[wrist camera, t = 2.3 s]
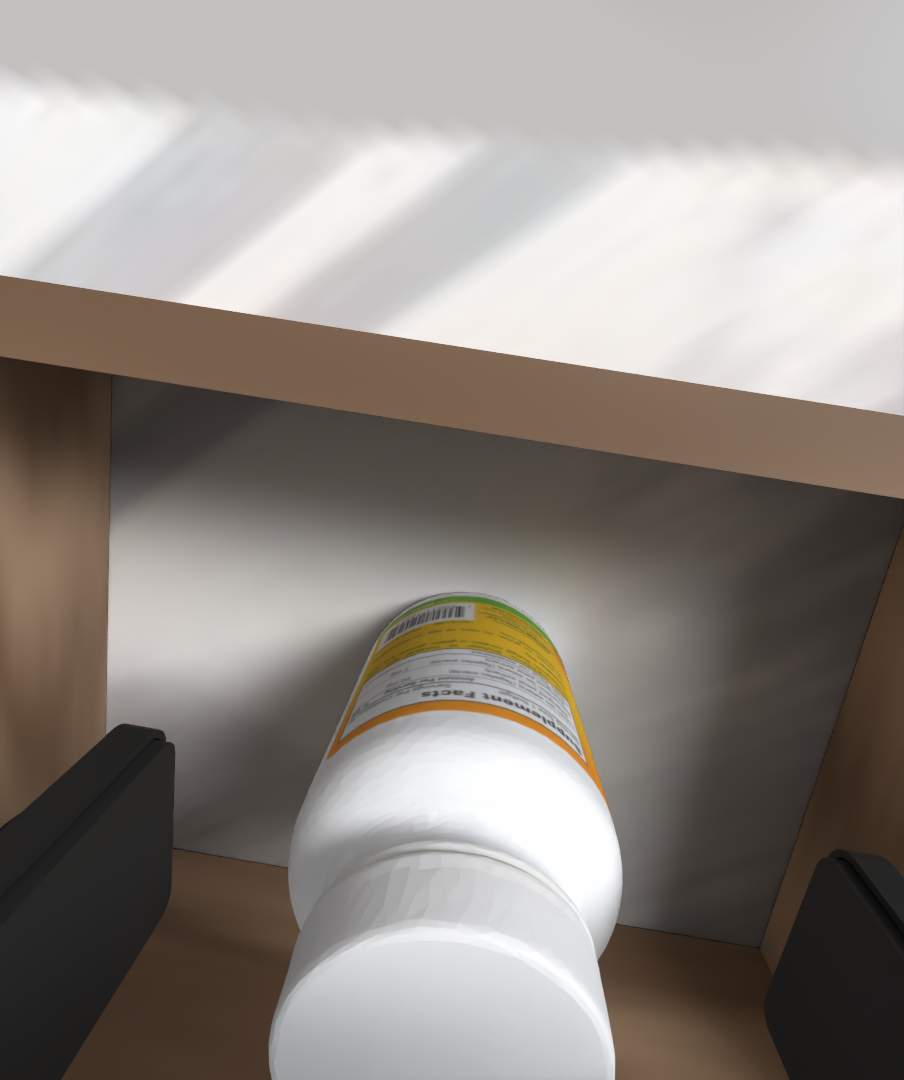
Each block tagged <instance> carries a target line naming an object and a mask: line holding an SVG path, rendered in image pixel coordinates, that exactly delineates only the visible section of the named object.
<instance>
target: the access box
mask: <svg viewBox="0 0 904 1080" xmlns="http://www.w3.org/2000/svg"><path fill="white" fill-rule="evenodd" d="M112 374H116V375H122V376H128V377H135V378H141V379H147V380H154V381H160V382H166V383H173V384H179V385H185V386H192V387H198V388H204V389H211V390H217V391H223V392H230V393H236V394H242V395H249V396H255V397H261V398H268V399H274V400H280V401H287V402H293V403H299V404H306V405H312V406H318V407H325V408H331V409H337V410H344V411H350V412H356V413H363V414H369V415H375V416H382V417H388V418H394V419H401V420H407V421H413V422H420V423H426V424H432V425H439V426H445V427H451V428H458V429H464V430H470V431H477V432H483V433H489V434H496V435H502V436H508V437H515V438H521V439H528V440H534V441H540V442H547V443H553V444H559V445H566V446H572V447H578V448H585V449H591V450H597V451H604V452H610V453H616V454H623V455H629V456H635V457H642V458H648V459H654V460H661V461H667V462H673V463H680V464H686V465H692V466H699V467H705V468H711V469H718V470H724V471H730V472H737V473H743V474H749V475H756V476H762V477H768V478H775V479H781V480H787V481H794V482H800V483H806V484H813V485H819V486H825V487H832V488H838V489H844V490H851V491H857V492H863V493H870V494H876V495H882V496H889V497H895V498H901V499H904V416H901V415H894V414H888V413H882V412H875V411H869V410H862V409H856V408H849V407H843V406H837V405H830V404H824V403H817V402H811V401H804V400H798V399H792V398H785V397H779V396H772V395H766V394H759V393H753V392H747V391H740V390H734V389H727V388H721V387H714V386H708V385H702V384H695V383H689V382H682V381H676V380H669V379H663V378H657V377H650V376H644V375H637V374H631V373H624V372H618V371H612V370H605V369H599V368H592V367H586V366H579V365H573V364H567V363H560V362H554V361H547V360H541V359H534V358H528V357H522V356H515V355H509V354H502V353H496V352H489V351H483V350H477V349H470V348H464V347H457V346H451V345H444V344H438V343H432V342H425V341H419V340H412V339H406V338H399V337H393V336H387V335H380V334H374V333H367V332H361V331H354V330H348V329H342V328H335V327H329V326H322V325H316V324H309V323H303V322H297V321H290V320H284V319H277V318H271V317H265V316H258V315H252V314H245V313H239V312H232V311H226V310H220V309H213V308H207V307H200V306H194V305H187V304H181V303H175V302H168V301H162V300H155V299H149V298H142V297H136V296H130V295H123V294H117V293H110V292H104V291H97V290H91V289H85V288H78V287H72V286H65V285H59V284H52V283H46V282H40V281H33V280H27V279H20V278H14V277H7V276H1V275H0V828H1V827H2V826H3V825H4V824H6V823H7V822H8V821H10V820H11V819H12V818H14V817H15V816H16V815H18V814H20V813H21V812H22V811H23V810H24V809H26V808H27V807H28V806H29V805H30V804H31V803H32V802H33V801H34V800H36V799H37V798H38V797H39V796H40V795H41V794H42V793H43V792H44V791H45V790H47V789H48V788H49V787H50V786H51V785H52V784H53V783H54V782H55V781H56V780H58V779H59V778H60V777H61V776H62V775H63V774H64V773H65V772H66V771H67V770H69V769H70V768H71V767H72V766H73V765H74V764H75V763H76V762H77V761H78V760H80V759H81V758H82V757H83V756H84V755H85V754H86V753H87V752H88V751H90V750H91V749H92V748H93V747H94V746H95V745H96V744H97V743H98V742H99V741H101V740H102V739H103V738H104V737H105V736H106V688H107V628H108V569H109V509H110V450H111V391H112ZM835 849H845V850H851V851H856V852H862V853H868V854H874V855H879V856H882V857H884V858H886V859H887V860H888V861H889V862H890V863H892V864H893V865H894V867H895V868H896V869H897V870H898V871H899V873H900V874H901V875H902V876H903V877H904V525H903V528H902V531H901V534H900V537H899V540H898V543H897V546H896V549H895V552H894V555H893V558H892V560H891V563H890V566H889V569H888V572H887V575H886V578H885V581H884V584H883V587H882V590H881V593H880V596H879V599H878V602H877V605H876V608H875V611H874V613H873V616H872V619H871V622H870V625H869V628H868V631H867V634H866V637H865V640H864V643H863V646H862V649H861V652H860V655H859V658H858V661H857V664H856V666H855V669H854V672H853V675H852V678H851V681H850V684H849V687H848V690H847V693H846V696H845V699H844V702H843V705H842V708H841V711H840V714H839V717H838V719H837V722H836V725H835V728H834V731H833V734H832V737H831V740H830V743H829V746H828V749H827V752H826V755H825V758H824V761H823V764H822V767H821V770H820V772H819V775H818V778H817V781H816V784H815V787H814V790H813V793H812V796H811V799H810V802H809V805H808V808H807V811H806V814H805V817H804V820H803V823H802V825H801V828H800V831H799V834H798V837H797V840H796V843H795V846H794V849H793V852H792V855H791V858H790V861H789V864H788V867H787V870H786V873H785V876H784V878H783V881H782V884H781V887H780V890H779V893H778V896H777V899H776V902H775V905H774V908H773V911H772V914H771V917H770V920H769V923H768V926H767V929H766V931H765V934H764V937H763V940H762V943H761V946H760V949H758V948H752V947H746V946H740V945H734V944H729V943H723V942H717V941H711V940H705V939H699V938H693V937H688V936H682V935H676V934H670V933H664V932H658V931H652V930H647V929H641V928H635V927H629V926H623V925H617V924H615V927H614V930H613V933H612V935H611V937H610V940H609V942H608V944H607V946H606V948H605V950H604V951H603V953H602V955H601V956H600V958H599V959H598V961H597V962H598V966H599V970H600V977H601V982H602V987H603V992H604V997H605V1001H606V1006H607V1012H608V1017H609V1022H610V1027H611V1033H612V1039H613V1045H614V1051H615V1080H789V1077H788V1075H787V1073H786V1070H785V1068H784V1066H783V1063H782V1061H781V1059H780V1056H779V1054H778V1052H777V1049H776V1047H775V1044H774V1042H773V1040H772V1037H771V1035H770V1033H769V1030H768V1027H767V1024H766V1019H765V1013H764V1000H765V996H766V993H767V991H768V988H769V986H770V983H771V980H772V978H773V975H774V973H775V970H776V968H777V965H778V962H779V960H780V957H781V955H782V952H783V950H784V947H785V944H786V942H787V939H788V937H789V934H790V932H791V929H792V926H793V924H794V921H795V919H796V916H797V914H798V911H799V909H800V906H801V903H802V901H803V898H804V896H805V893H806V891H807V888H808V885H809V883H810V880H811V878H812V875H813V873H814V870H815V867H816V865H817V863H818V862H819V860H820V859H822V858H828V856H829V854H830V853H831V852H832V851H834V850H835ZM299 933H300V928H299V926H298V924H297V921H296V917H295V914H294V911H293V907H292V904H291V898H290V891H289V882H288V868H283V867H277V866H272V865H266V864H260V863H254V862H248V861H242V860H236V859H231V858H225V857H219V856H213V855H207V854H201V853H195V852H189V851H184V850H178V849H172V885H171V894H170V898H169V901H168V904H167V907H166V909H165V912H164V914H163V916H162V918H161V919H160V921H159V923H158V924H157V926H156V928H155V929H154V931H153V932H152V934H151V936H150V937H149V939H148V940H147V942H146V944H145V945H144V947H143V949H142V950H141V952H140V953H139V955H138V957H137V958H136V960H135V961H134V963H133V965H132V966H131V968H130V969H129V971H128V973H127V974H126V976H125V977H124V979H123V981H122V982H121V984H120V986H119V987H118V989H117V990H116V992H115V994H114V995H113V997H112V998H111V1000H110V1002H109V1003H108V1005H107V1006H106V1008H105V1010H104V1011H103V1013H102V1014H101V1016H100V1018H99V1019H98V1021H97V1023H96V1024H95V1026H94V1027H93V1029H92V1031H91V1032H90V1034H89V1035H88V1037H87V1039H86V1040H85V1042H84V1043H83V1045H82V1047H81V1048H80V1050H79V1051H78V1053H77V1055H76V1056H75V1058H74V1060H73V1061H72V1063H71V1064H70V1066H69V1068H68V1069H67V1071H66V1072H65V1074H64V1076H63V1077H62V1079H61V1080H272V1078H271V1073H270V1067H269V1047H268V1044H269V1037H270V1030H271V1025H272V1020H273V1016H274V1013H275V1010H276V1007H277V1004H278V1001H279V998H280V994H281V991H282V988H283V985H284V982H285V979H286V976H287V973H288V970H289V966H290V962H291V958H292V954H293V950H294V947H295V944H296V941H297V938H298V935H299Z"/></svg>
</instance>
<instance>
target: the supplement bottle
mask: <svg viewBox="0 0 904 1080" xmlns="http://www.w3.org/2000/svg"><path fill="white" fill-rule="evenodd" d="M288 882H289V891H290V898H291V904H292V907H293V911H294V914H295V917H296V921H297V924H298V926H299V928H300V933H299V935H298V938H297V941H296V944H295V947H294V950H293V954H292V958H291V962H290V966H289V970H288V973H287V976H286V979H285V982H284V985H283V988H282V991H281V994H280V998H279V1001H278V1004H277V1007H276V1010H275V1013H274V1016H273V1020H272V1025H271V1030H270V1037H269V1044H268V1047H269V1067H270V1073H271V1078H272V1080H615V1051H614V1045H613V1039H612V1033H611V1027H610V1022H609V1017H608V1012H607V1006H606V1001H605V997H604V992H603V987H602V982H601V977H600V970H599V966H598V962H597V961H598V959H599V958H600V956H601V955H602V953H603V951H604V950H605V948H606V946H607V944H608V942H609V940H610V937H611V935H612V933H613V930H614V927H615V924H616V921H617V918H618V914H619V910H620V905H621V897H622V885H623V873H622V861H621V854H620V848H619V843H618V839H617V836H616V832H615V827H614V824H613V820H612V817H611V814H610V810H609V807H608V803H607V800H606V797H605V794H604V791H603V788H602V785H601V781H600V778H599V775H598V772H597V769H596V765H595V762H594V759H593V756H592V753H591V750H590V746H589V743H588V740H587V737H586V734H585V731H584V728H583V725H582V722H581V719H580V715H579V712H578V709H577V706H576V703H575V700H574V697H573V693H572V690H571V687H570V684H569V680H568V677H567V674H566V671H565V668H564V665H563V663H562V660H561V658H560V655H559V653H558V651H557V649H556V647H555V645H554V643H553V641H552V640H551V638H550V637H549V635H548V634H547V633H546V631H545V630H544V629H543V628H542V627H541V626H540V625H539V624H538V623H537V622H536V621H535V620H534V619H533V618H532V617H531V616H529V615H528V614H527V613H525V612H524V611H523V610H521V609H520V608H518V607H516V606H515V605H513V604H511V603H509V602H507V601H505V600H502V599H500V598H497V597H493V596H490V595H485V594H480V593H469V592H460V593H448V594H442V595H437V596H434V597H430V598H428V599H425V600H422V601H420V602H418V603H416V604H414V605H412V606H411V607H409V608H407V609H406V610H404V611H403V612H402V613H401V614H399V615H398V616H397V617H396V618H394V619H393V620H392V621H391V622H390V623H389V624H388V626H387V627H386V628H385V629H384V630H383V632H382V633H381V635H380V636H379V637H378V639H377V641H376V642H375V644H374V646H373V648H372V650H371V652H370V654H369V656H368V658H367V661H366V663H365V665H364V667H363V669H362V672H361V674H360V676H359V678H358V681H357V683H356V685H355V687H354V690H353V692H352V694H351V696H350V699H349V701H348V703H347V705H346V708H345V710H344V712H343V714H342V716H341V719H340V721H339V723H338V725H337V728H336V730H335V732H334V734H333V737H332V739H331V741H330V743H329V746H328V748H327V750H326V752H325V754H324V757H323V759H322V761H321V763H320V765H319V768H318V770H317V772H316V774H315V776H314V779H313V781H312V783H311V785H310V787H309V790H308V792H307V795H306V797H305V800H304V802H303V805H302V807H301V809H300V812H299V814H298V817H297V821H296V824H295V827H294V830H293V835H292V839H291V844H290V850H289V857H288Z"/></svg>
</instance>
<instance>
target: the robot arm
mask: <svg viewBox="0 0 904 1080" xmlns="http://www.w3.org/2000/svg"><path fill="white" fill-rule="evenodd" d="M174 775H175V747H174V744H172V743H170V742H166V737H165V734H164V732H163V731H161V730H158V729H152V728H147V727H141V726H135V725H130V724H120V725H118V726H117V727H115V728H114V729H113V730H112V731H110V732H109V733H108V734H107V735H106V736H105V737H104V738H103V739H102V740H101V741H99V742H98V743H97V744H96V745H95V746H94V747H93V748H92V749H91V750H90V751H88V752H87V753H86V754H85V755H84V756H83V757H82V758H81V759H80V760H78V761H77V762H76V763H75V764H74V765H73V766H72V767H71V768H70V769H69V770H67V771H66V772H65V773H64V774H63V775H62V776H61V777H60V778H59V779H58V780H56V781H55V782H54V783H53V784H52V785H51V786H50V787H49V788H48V789H47V790H45V791H44V792H43V793H42V794H41V795H40V796H39V797H38V798H37V799H36V800H34V801H33V802H32V803H31V804H30V805H29V806H28V807H27V808H26V809H24V810H23V811H22V812H21V813H20V814H18V815H16V816H15V817H14V818H12V819H11V820H10V821H8V822H7V823H6V824H4V825H3V826H2V827H1V828H0V1080H61V1079H62V1077H63V1076H64V1074H65V1072H66V1071H67V1069H68V1068H69V1066H70V1064H71V1063H72V1061H73V1060H74V1058H75V1056H76V1055H77V1053H78V1051H79V1050H80V1048H81V1047H82V1045H83V1043H84V1042H85V1040H86V1039H87V1037H88V1035H89V1034H90V1032H91V1031H92V1029H93V1027H94V1026H95V1024H96V1023H97V1021H98V1019H99V1018H100V1016H101V1014H102V1013H103V1011H104V1010H105V1008H106V1006H107V1005H108V1003H109V1002H110V1000H111V998H112V997H113V995H114V994H115V992H116V990H117V989H118V987H119V986H120V984H121V982H122V981H123V979H124V977H125V976H126V974H127V973H128V971H129V969H130V968H131V966H132V965H133V963H134V961H135V960H136V958H137V957H138V955H139V953H140V952H141V950H142V949H143V947H144V945H145V944H146V942H147V940H148V939H149V937H150V936H151V934H152V932H153V931H154V929H155V928H156V926H157V924H158V923H159V921H160V919H161V918H162V916H163V914H164V912H165V909H166V907H167V904H168V901H169V898H170V894H171V885H172V848H173V812H174ZM764 1013H765V1019H766V1024H767V1027H768V1030H769V1033H770V1035H771V1037H772V1040H773V1042H774V1044H775V1047H776V1049H777V1052H778V1054H779V1056H780V1059H781V1061H782V1063H783V1066H784V1068H785V1070H786V1073H787V1075H788V1077H789V1080H904V877H903V876H902V875H901V874H900V873H899V871H898V870H897V869H896V868H895V867H894V865H893V864H892V863H890V862H889V861H888V860H887V859H886V858H884V857H882V856H879V855H874V854H868V853H862V852H856V851H851V850H845V849H835V850H834V851H832V852H831V853H830V854H829V856H828V858H822V859H820V860H819V862H818V863H817V865H816V867H815V870H814V873H813V875H812V878H811V880H810V883H809V885H808V888H807V891H806V893H805V896H804V898H803V901H802V903H801V906H800V909H799V911H798V914H797V916H796V919H795V921H794V924H793V926H792V929H791V932H790V934H789V937H788V939H787V942H786V944H785V947H784V950H783V952H782V955H781V957H780V960H779V962H778V965H777V968H776V970H775V973H774V975H773V978H772V980H771V983H770V986H769V988H768V991H767V993H766V996H765V1000H764Z"/></svg>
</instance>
